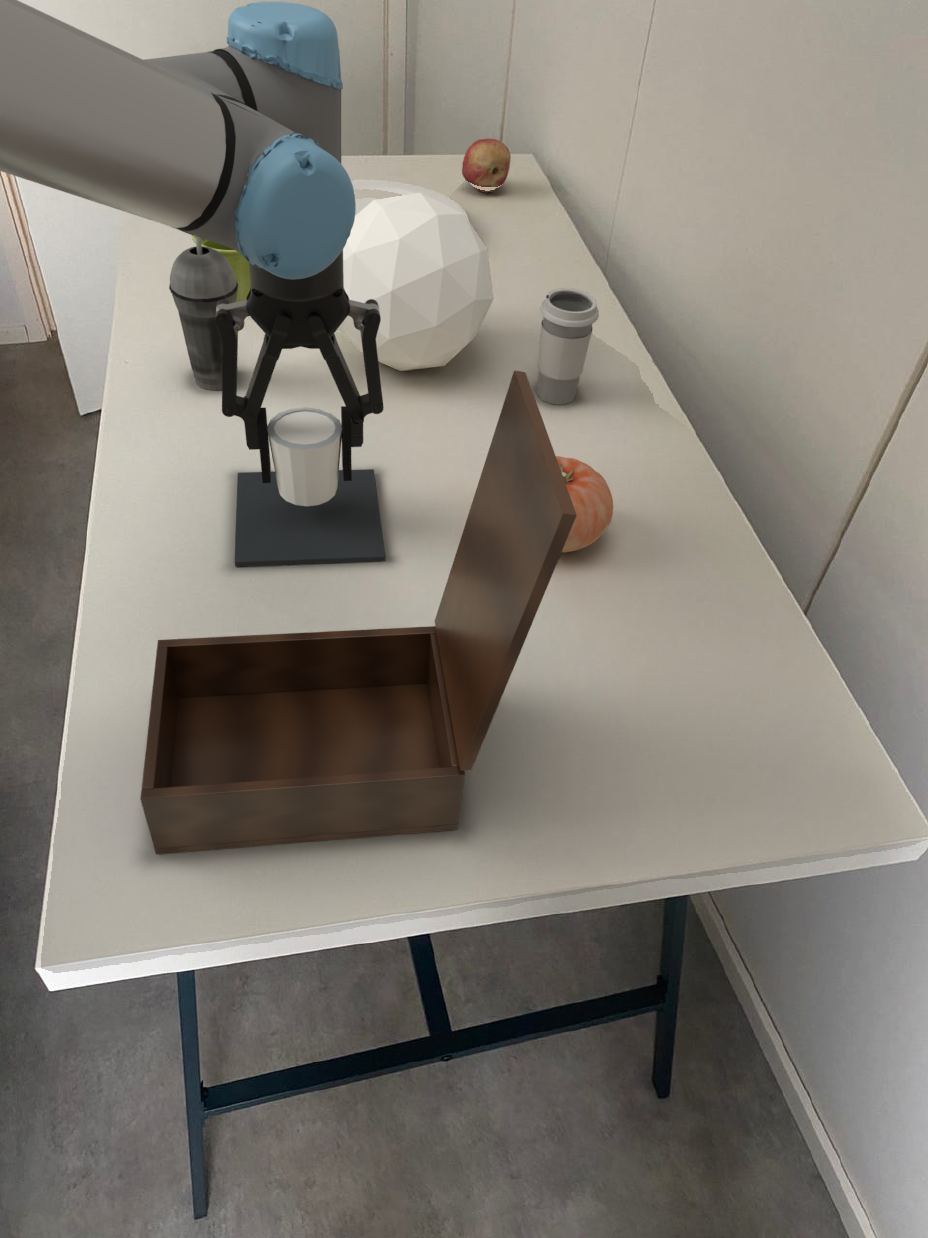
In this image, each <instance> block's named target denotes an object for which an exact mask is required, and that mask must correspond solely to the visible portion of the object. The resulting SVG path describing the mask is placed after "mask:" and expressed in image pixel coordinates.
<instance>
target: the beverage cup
mask: <svg viewBox="0 0 928 1238" xmlns="http://www.w3.org/2000/svg"><path fill="white" fill-rule="evenodd" d="M195 238H196V244H195V246H192V247H189V248H187V249H184V250H183V251H181V253H179V255H178V256H176V258H175V259H174V262H173V263H172V267H171V270H170V274H169V285H168V290H169V291H170V294H171V296H172V299H173V301H174V304H175V307H176V309H177V311H178V316H179V320H180V325H181V329H182V333H183V337H184V342H185V346H186V351H187V354H188V355H187V356H188V359H189V363H190V367H191V371H192V373H193V377H194V382H195V384H196V385H197V386H198V387H199V388H201V389H203V390H207V391H222V367H223V339H222V336H221V334H220V331H219V328H218V326H217V323H216V305H217V302H218V301H219V300H221V299H225V300H227V301H229V302H230V303H235V302H236V298H237V290H238V283H237V281H236V277H235V274H234V271H233V269H232V267H231V265H230V263H229V262H228V260H227V259H226V258H225V257H224V256H223V255H222V254H220V253H219V252H218V251H216V250H214V249H212V248H209V247H204V246H202V245H201V238H200V237H197V236H195Z"/></svg>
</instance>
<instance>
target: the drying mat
mask: <svg viewBox="0 0 928 1238" xmlns="http://www.w3.org/2000/svg"><path fill="white" fill-rule="evenodd" d="M236 482H237V483H236V512H235V540H234V567H235V568H236V567H260V566H261V567H262V566H264V567H265V566H285V565H286V566H289V565H311V564H312V565H313V564H337V563H338V564H341V563H366V562H367V563H368V562H385V561H386V551H385V545H384V537H383V529H382V521H381V514H380V506H379V499H378V491H377V484H376V483H377V481H376V475H375V469H373V468H371V469H370V468H369V469H366V468H365V469H352V481H344V478H343V469H339V473H338V484H337V490H336V493H335V496H333V497H332V498H331V499H330V500H329V501H327V502H325V503H322V504H320V505H315V506H300V505H295V504H292V503H290V502H287V501H286V500H285V499H284V498H283V497H281V496H280V493H279V489H278V484H277V479H276V474H275V471H271V483H263V481H262V471H245V472H244V471H243V472H237V481H236Z"/></svg>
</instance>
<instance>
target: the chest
mask: <svg viewBox="0 0 928 1238" xmlns="http://www.w3.org/2000/svg"><path fill="white" fill-rule="evenodd" d="M149 709H150V710H149V717H148V726H147V734H146V735H147V736H146V745H145V754H144V762H143V773H142V781H141V791H140V801H141V802H140V803H141V806H142V810H143V813H144V817H145V821H146V825H147V828H148V831H149V834H150V839H151V843H152V846H153V849H154V852H155V855H168V854H178V853H180V854H181V853H191V852H203V851H215V850H216V851H217V850H225V849H238V848H239V849H240V848H251V847H263V846H264V847H265V846H276V845H287V844H299V843H300V844H301V843H311V842H322V841H323V842H324V841H335V840H346V839H347V840H348V839H359V838H360V839H361V838H371V837H384V836H395V835H408V834H421V833H432V832H445V831H457V830H459V825H460V819H461V818H460V817H461V810H462V801H463V794H464V786H465V777H466V773H465V772H466V771H461V770H460V766H459V760H458V754H457V748H456V743H455V737H454V731H453V725H452V719H451V714H450V708H449V702H448V696H447V691H446V685H445V679H444V673H443V667H442V662H441V656H440V650H439V644H438V639H437V633H436V627H435V625H432V626H413V627H409V626H408V627H390V628H374V629H373V628H370V629H351V630H332V631H331V630H330V631H310V632H292V633H289V632H288V633H272V634H248V635H231V636H209V637H208V636H207V637H189V638H169V639H168V638H167V639H158V640H157V645H156V654H155V664H154V671H153V681H152V690H151V699H150V707H149Z"/></svg>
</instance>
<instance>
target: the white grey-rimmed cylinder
mask: <svg viewBox="0 0 928 1238" xmlns="http://www.w3.org/2000/svg"><path fill="white" fill-rule="evenodd" d="M267 431H268V439H269V448H270V452H271V458H272V463H273V469H274V472H275V474H276V479H277V484H278V489H279V493H280V496H281V497H283V498H284V499H285V500H286V501H287V502H290V503H292V504H295V505H300V506H315V505H320V504H322V503H325V502H327V501H329V500H330V499H331V498H332V497H333V496H335V493H336V490H337V484H338V473H339V470H340V463H341V462H340V460H341V452H342V426H341V419H339V418H337V416H335V415H334V414H332V413H331V412H328V411H326V410H324V409H320V408H312V407H297V408H290V409H287V410H285V411H281V412H279V413H277V414H276V415H275V416H273V417H272V418H271V419H270V420H269V422H268V423H267Z"/></svg>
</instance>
